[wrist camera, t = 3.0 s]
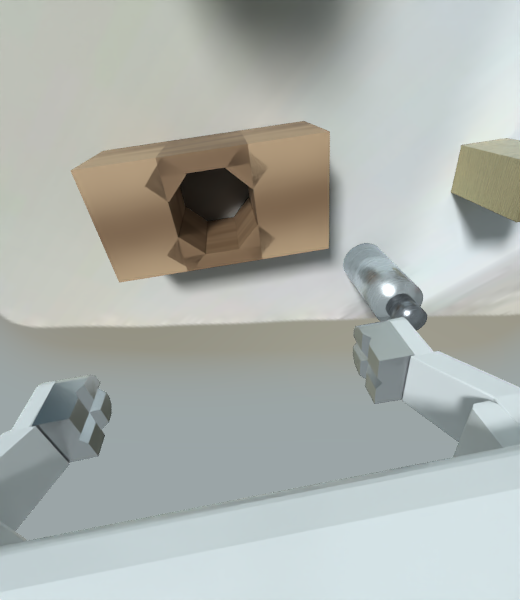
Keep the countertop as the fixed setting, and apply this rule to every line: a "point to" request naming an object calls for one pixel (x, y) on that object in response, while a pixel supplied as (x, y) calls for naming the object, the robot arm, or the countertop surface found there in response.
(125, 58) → the countertop surface
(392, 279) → the cylinder
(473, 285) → the countertop surface
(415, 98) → the countertop surface
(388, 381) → the robot arm
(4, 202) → the countertop surface
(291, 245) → the socket block
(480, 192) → the square bit
